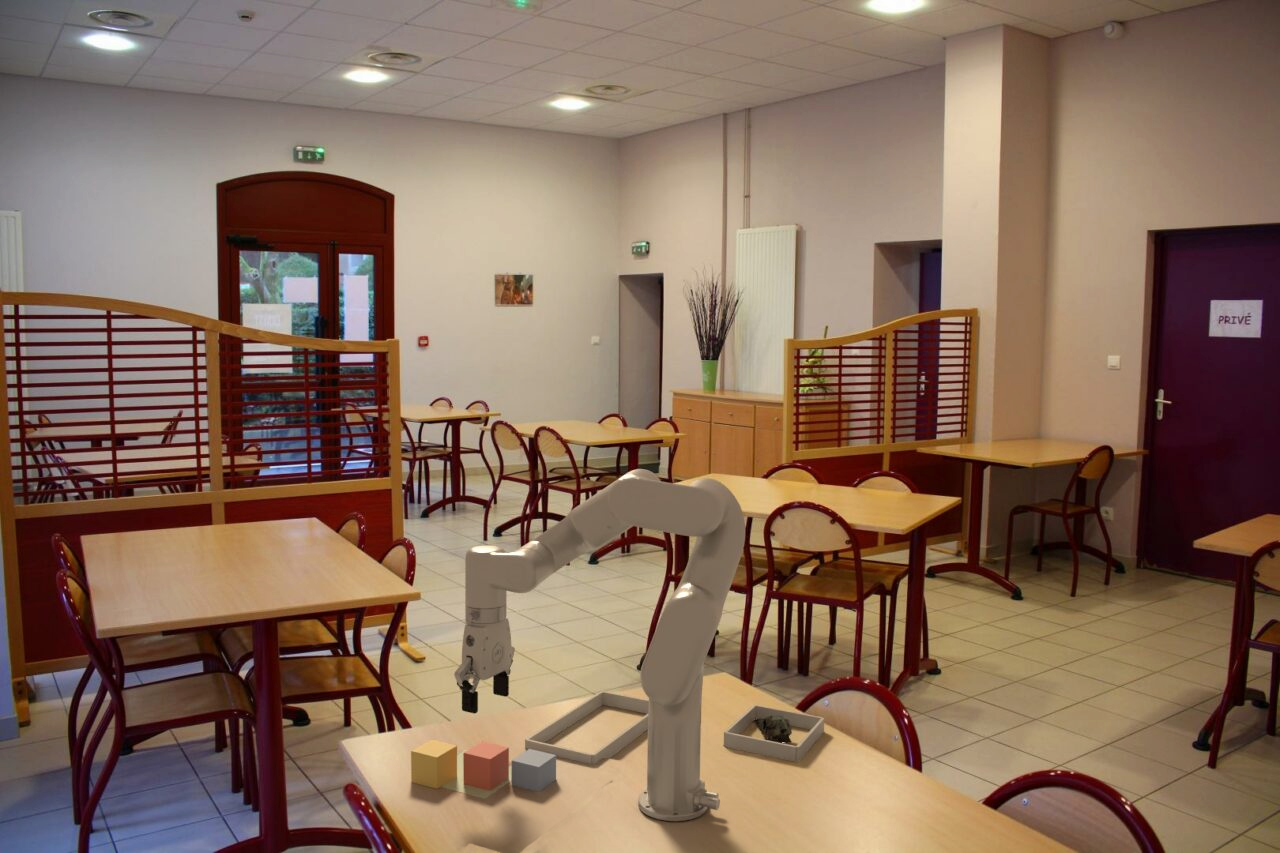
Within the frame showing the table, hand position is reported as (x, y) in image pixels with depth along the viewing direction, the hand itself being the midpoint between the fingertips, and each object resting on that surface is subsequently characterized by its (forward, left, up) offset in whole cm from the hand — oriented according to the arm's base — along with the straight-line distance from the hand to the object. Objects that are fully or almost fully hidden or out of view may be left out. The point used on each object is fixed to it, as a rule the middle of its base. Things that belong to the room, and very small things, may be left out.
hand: (485, 703), depth 187 cm
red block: (0, 0, -15) cm, 15 cm away
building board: (+4, -2, -16) cm, 17 cm away
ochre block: (+9, +4, -15) cm, 18 cm away
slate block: (-8, -4, -16) cm, 19 cm away
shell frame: (-40, -48, -16) cm, 65 cm away
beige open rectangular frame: (-6, -32, -16) cm, 36 cm away
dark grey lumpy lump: (-38, -50, -17) cm, 65 cm away
